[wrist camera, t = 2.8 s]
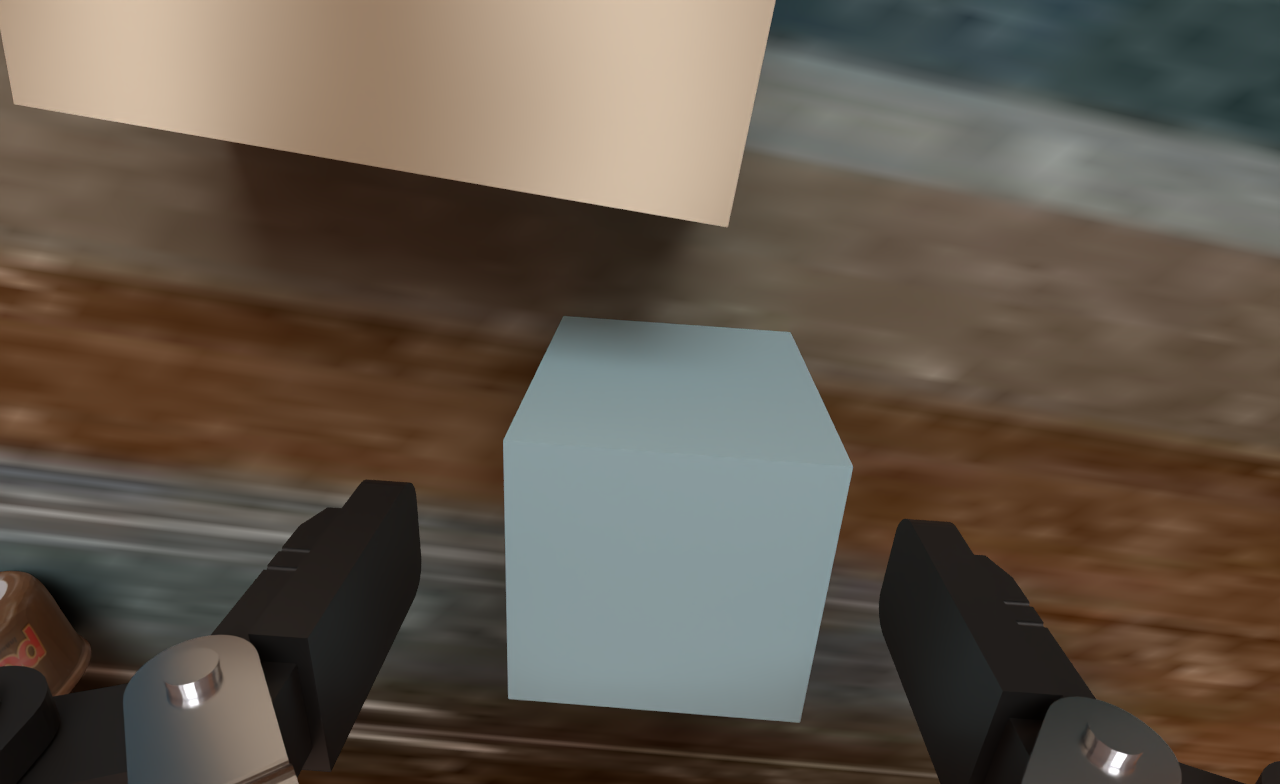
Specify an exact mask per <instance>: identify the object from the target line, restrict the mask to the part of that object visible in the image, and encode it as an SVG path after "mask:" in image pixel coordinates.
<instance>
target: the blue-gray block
mask: <svg viewBox="0 0 1280 784" xmlns="http://www.w3.org/2000/svg"><path fill="white" fill-rule="evenodd" d="M503 456H504V508H505V559H506V611H507V663H508V699H516V700H529V701H541V702H553V703H565V704H578V705H590V706H602V707H614V708H627V709H639V710H651V711H663V712H676V713H688V714H700V715H712V716H725V717H737V718H749V719H761V720H773V721H786V722H798V723H800V720H801V715H802V710H803V705H804V700H805V696H806V691H807V686H808V681H809V676H810V672H811V667H812V662H813V657H814V652H815V648H816V643H817V638H818V633H819V628H820V624H821V619H822V614H823V609H824V604H825V599H826V595H827V590H828V585H829V580H830V575H831V571H832V566H833V561H834V556H835V551H836V547H837V542H838V537H839V532H840V527H841V523H842V518H843V513H844V508H845V503H846V498H847V494H848V489H849V484H850V479H851V474H852V470H853V466H852V463H851V461H850V459H849V457H848V455H847V453H846V451H845V448H844V446H843V444H842V442H841V440H840V438H839V435H838V433H837V431H836V429H835V427H834V425H833V423H832V420H831V418H830V416H829V414H828V412H827V410H826V408H825V405H824V403H823V401H822V399H821V397H820V395H819V393H818V390H817V388H816V386H815V384H814V382H813V380H812V377H811V375H810V373H809V371H808V369H807V367H806V365H805V362H804V360H803V358H802V356H801V354H800V352H799V350H798V347H797V345H796V343H795V341H794V339H793V337H792V335H791V332H779V331H765V330H751V329H737V328H724V327H710V326H696V325H682V324H668V323H654V322H641V321H627V320H613V319H599V318H585V317H571V316H563V318H562V320H561V322H560V324H559V326H558V328H557V330H556V332H555V334H554V336H553V338H552V340H551V343H550V345H549V347H548V349H547V351H546V353H545V355H544V357H543V359H542V361H541V363H540V365H539V367H538V369H537V372H536V374H535V376H534V378H533V380H532V382H531V384H530V386H529V388H528V390H527V392H526V394H525V396H524V398H523V401H522V403H521V405H520V407H519V409H518V411H517V413H516V415H515V417H514V419H513V421H512V423H511V425H510V427H509V429H508V432H507V434H506V436H505V438H504V440H503Z"/></svg>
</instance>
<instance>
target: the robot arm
mask: <svg viewBox="0 0 1280 784" xmlns="http://www.w3.org/2000/svg"><path fill="white" fill-rule="evenodd" d="M420 574H421V549H420V537H419V524H418V512H417V500H416V492H415V488H414V486H413V484H412V483H407V482H393V481H379V480H364V481H362V482H361V484H360V485H359V486H358V487H357V489H356V490H355V491H354V493H353V494H352V495H351V497H350V498H349V499H348V501H347V502H346V503H345V505H344V506H343V507H342V508H326V509H325V510H323V511H322V512H320V513H318V514H317V515H315V516H314V517H312V518H311V519H309V520H307V521H306V522H304V523H303V524H301V525H300V526H299V527H298V528H297V530H296V531H295V532H294V533H293V534H292V536H291V537H290V538H289V539H288V541H287V542H286V543H285V544H284V546H283V547H282V551H279V552H278V553H277V554H276V555H275V557H274V558H273V559H272V560H271V562H270V563H269V564H268V567H267V570H263V571H262V573H261V574H260V575H259V576H258V578H257V579H256V580H255V581H254V582H253V584H252V585H251V586H250V587H249V589H248V590H247V591H246V592H245V594H244V595H243V596H242V597H241V598H240V600H239V601H238V602H237V603H236V605H235V606H234V607H233V608H232V610H231V611H230V612H229V613H228V614H227V616H226V617H225V618H224V619H223V621H222V622H221V623H220V624H219V626H218V627H217V628H216V629H215V630H214V632H213V633H212V634H211V635H210V636H204V637H198V638H195V639H191V640H188V641H185V642H182V643H180V644H177V645H175V646H173V647H171V648H169V649H167V650H165V651H163V652H161V653H160V654H158V655H156V656H155V657H154V658H152V659H151V660H149V661H148V662H147V663H146V664H144V665H143V666H142V667H141V668H140V669H139V670H138V671H137V672H136V673H135V675H134V676H133V677H132V678H131V680H130V682H129V683H127V684H122V685H117V686H111V687H105V688H99V689H93V690H88V691H82V692H76V693H70V694H64V695H58V696H52V694H51V691H50V689H49V686H48V683H47V681H46V678H45V676H44V675H43V674H42V673H41V672H39V671H37V670H36V669H33V668H30V667H25V666H2V667H0V784H298V781H297V777H298V775H299V773H300V771H301V770H312V771H326V772H331V771H332V768H333V766H334V764H335V762H336V760H337V758H338V756H339V754H340V752H341V750H342V748H343V746H344V744H345V741H346V739H347V737H348V735H349V733H350V731H351V729H352V727H353V725H354V723H355V721H356V719H357V716H358V714H359V712H360V710H361V708H362V706H363V704H364V702H365V700H366V698H367V696H368V694H369V692H370V689H371V687H372V685H373V683H374V681H375V679H376V677H377V675H378V673H379V671H380V669H381V667H382V665H383V662H384V660H385V658H386V656H387V654H388V652H389V650H390V648H391V646H392V644H393V642H394V640H395V637H396V635H397V633H398V631H399V629H400V627H401V625H402V623H403V621H404V619H405V617H406V615H407V613H408V610H409V608H410V606H411V604H412V602H413V600H414V598H415V595H416V592H417V589H418V585H419V581H420ZM879 618H880V625H881V629H882V633H883V636H884V638H885V641H886V643H887V646H888V649H889V651H890V654H891V656H892V659H893V662H894V664H895V667H896V669H897V672H898V675H899V677H900V680H901V682H902V685H903V688H904V690H905V693H906V695H907V698H908V700H909V703H910V706H911V708H912V711H913V713H914V716H915V719H916V721H917V724H918V726H919V729H920V732H921V734H922V737H923V739H924V742H925V745H926V747H927V750H928V752H929V755H930V757H931V760H932V763H933V765H934V768H935V770H936V773H937V776H938V778H939V781H940V783H941V784H1244V783H1241V782H1238V781H1235V780H1232V779H1229V778H1225V777H1222V776H1219V775H1216V774H1213V773H1210V772H1207V771H1204V770H1200V769H1197V768H1194V767H1191V766H1188V765H1185V764H1182V763H1180V762H1178V761H1177V759H1176V757H1175V755H1174V753H1173V752H1172V750H1171V749H1170V747H1169V746H1168V745H1167V744H1166V743H1165V741H1164V740H1163V739H1162V738H1161V737H1160V736H1159V735H1158V734H1157V733H1156V732H1155V731H1153V730H1152V729H1151V728H1150V727H1149V726H1147V725H1146V724H1145V723H1143V722H1142V721H1141V720H1139V719H1138V718H1136V717H1135V716H1133V715H1131V714H1130V713H1128V712H1126V711H1124V710H1122V709H1120V708H1118V707H1116V706H1114V705H1111V704H1109V703H1106V702H1103V701H1100V700H1096V698H1095V697H1094V695H1093V694H1092V693H1091V691H1090V690H1089V688H1088V687H1087V685H1086V684H1085V682H1084V681H1083V679H1082V678H1081V677H1080V675H1079V674H1078V672H1077V671H1076V669H1075V668H1074V666H1073V665H1072V663H1071V662H1070V660H1069V659H1068V658H1067V656H1066V655H1065V653H1064V652H1063V650H1062V649H1061V647H1060V646H1059V644H1058V643H1057V642H1056V640H1055V639H1054V637H1053V636H1052V634H1051V633H1050V631H1049V630H1048V628H1044V627H1043V621H1042V620H1041V618H1040V617H1039V615H1038V614H1037V612H1036V611H1035V610H1034V608H1033V607H1030V606H1029V601H1028V599H1027V598H1026V596H1025V595H1024V593H1023V592H1022V591H1021V589H1020V588H1019V586H1018V585H1017V583H1016V582H1015V580H1014V579H1013V577H1011V576H1010V575H1009V574H1008V573H1006V572H1005V571H1004V570H1003V569H1001V568H1000V567H999V566H998V565H996V564H995V563H994V562H993V561H991V560H990V559H989V558H988V557H986V556H984V555H974V554H973V553H972V551H971V550H970V548H969V547H968V545H967V543H966V542H965V540H964V539H963V537H962V536H961V534H960V532H959V531H958V529H957V528H956V526H955V525H954V524H953V523H951V522H940V521H926V520H912V519H903V520H902V521H901V522H900V523H899V525H898V527H897V530H896V534H895V538H894V542H893V545H892V549H891V553H890V557H889V561H888V565H887V569H886V573H885V577H884V581H883V585H882V589H881V593H880V600H879ZM1255 784H1280V761H1278V762H1274V763H1272V764H1269V765H1268V766H1267V767H1266V768H1265V769H1264V770H1263V772H1262V773H1261V775H1260V777H1259V778H1258V780H1257V782H1256V783H1255Z"/></svg>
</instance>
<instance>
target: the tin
mask: <svg viewBox="0 0 1280 784" xmlns="http://www.w3.org/2000/svg"><path fill="white" fill-rule="evenodd" d="M90 658H91V647H90V644H89V642H88V641H87V640H86V639H84V638H83V637H82V636H80V635H78V634H77V633H76V631H75V630H74V629H73V627H72V626H71V624H70V623H69V621H68V620H67V618H66V617H65V615H64V614H63V613H62V611H61V609H60V608H59V606H58V605H57V603H56V602H55V600H54V598H53V597H52V595H51V594H50V593H49V592H48V590H47V589H46V588H45V586H44V585H43V584H42V583H41V582H40V581H39V580H38V579H37V578H35V577H34V576H32V575H31V574H29V573H25V572H20V571H4V572H0V667H2V666H25V667H30V668H33V669H36V670H37V671H39V672H41V673H42V674H43V675H44V676H45V678H46V681H47V683H48V686H49V689H50V691H51V694H52V696H58V695H64V694H69V693H70V692H71V690H72V689H73V688H74V687H75V685H76V684H77V683H78V681H79V680H80V679H81V677H82V676H83V674H84V673H85V671H86V668H87V666H88V664H89V662H90Z"/></svg>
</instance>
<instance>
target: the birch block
mask: <svg viewBox="0 0 1280 784" xmlns="http://www.w3.org/2000/svg"><path fill="white" fill-rule="evenodd" d="M775 1H776V0H0V30H1V35H2V41H3V46H4V52H5V57H6V63H7V68H8V74H9V79H10V84H11V90H12V95H13V101H14V104H17V105H22V106H28V107H34V108H40V109H45V110H51V111H57V112H63V113H69V114H74V115H80V116H86V117H92V118H98V119H103V120H109V121H115V122H121V123H127V124H132V125H138V126H144V127H150V128H155V129H161V130H167V131H173V132H179V133H184V134H190V135H196V136H202V137H208V138H213V139H219V140H225V141H231V142H237V143H242V144H248V145H254V146H260V147H265V148H271V149H277V150H283V151H289V152H294V153H300V154H306V155H312V156H318V157H323V158H329V159H335V160H341V161H347V162H352V163H358V164H364V165H370V166H375V167H381V168H387V169H393V170H399V171H404V172H410V173H416V174H422V175H428V176H433V177H439V178H445V179H451V180H457V181H462V182H468V183H474V184H480V185H486V186H491V187H497V188H503V189H509V190H514V191H520V192H526V193H532V194H538V195H543V196H549V197H555V198H561V199H567V200H572V201H578V202H584V203H590V204H596V205H601V206H607V207H613V208H619V209H624V210H630V211H636V212H642V213H648V214H653V215H659V216H665V217H671V218H677V219H682V220H688V221H694V222H700V223H706V224H711V225H717V226H723V227H728V224H729V219H730V214H731V209H732V205H733V200H734V195H735V190H736V186H737V181H738V176H739V171H740V167H741V162H742V157H743V152H744V148H745V143H746V138H747V133H748V129H749V124H750V119H751V115H752V110H753V105H754V100H755V96H756V91H757V86H758V81H759V77H760V72H761V67H762V62H763V58H764V53H765V48H766V43H767V39H768V34H769V29H770V24H771V20H772V15H773V10H774V5H775Z"/></svg>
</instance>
